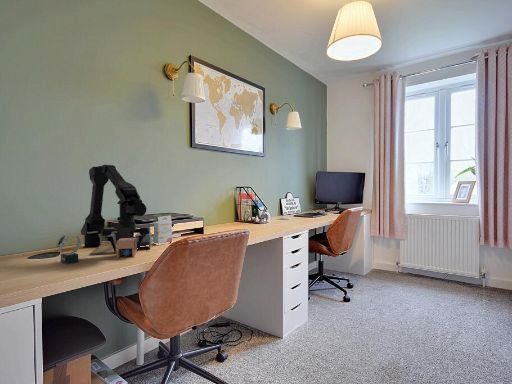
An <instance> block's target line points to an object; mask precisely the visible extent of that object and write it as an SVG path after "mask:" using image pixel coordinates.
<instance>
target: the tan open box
mask: <svg viewBox="0 0 512 384" xmlns="http://www.w3.org/2000/svg"><path fill="white" fill-rule="evenodd" d="M116 247H117V254H116V258H117V259H119V258H120V257H121V256H122V255H121V254H123V250H124V249H127V248H129V249H130V250H131V254H130V255H132V258H135V256H136V255H137V250H136V238H135V237H128V238H126V237H125V238H124V237H123V238H119V239H118V240H116ZM135 254H136V255H135Z"/></svg>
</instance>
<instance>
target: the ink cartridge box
mask: <svg viewBox="0 0 512 384" xmlns="http://www.w3.org/2000/svg"><path fill="white" fill-rule="evenodd" d="M153 224H154V234H153V233H152V243H153V242H154V243H158V244H159V243H166V242H172V243H173V237H172V236H173V229H172V228H173V226H172V225H173V223H172V215H164V216H158V217H157V221H152V225H153Z"/></svg>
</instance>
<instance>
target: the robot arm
mask: <svg viewBox="0 0 512 384" xmlns="http://www.w3.org/2000/svg"><path fill="white" fill-rule="evenodd" d="M88 175H89V180H90V182H91V183H92V189H91V200H90V209H89V214H88V215H87V216H86V218H85V220H84V224H83V226H82V227H81V228H80V235H82V236H84V237H83V238H84V241H83V242H84V243H83V244H84V246H83V247H82V248H83V249H86V248H87V249H89V248H92V249H93V248H100V247H101V246H102V237H104V238H105V239H108V240H109V242H110V244H111V247H113V249H114V252H116V247H117V238H116V237H117V236H116V235H119V236H121V235H127V236H128V235H130V234H137V233H140V235H139V240H138V249H137V251H138V252H139V251H140V248H141V247H140V246H141V243H142V240H143V238H144V237H145V236H147V235H148V234H150V233H151V227H150V226H140V227H139V228H137V224H136V221H135V217H142V216H144V215H145V214H147V210H148V209H147V206H146V205H145V203H144V202H143V200H142V199H141V196H140V194H139V192H138V190H137V188H136V186H135V185H133V184H132V183H131V182H128V181H126V180H125V178H124V177H123V176H122V175H121V174H120V173H119V171H118V169H117V168H116V166H115V165H113V164H103V165H99V166H92V167H91V168H89V170H88ZM109 181H110V183H111V184H112V186H113V187H114V188H115V191H114V192H115V195H116V197H117V198H118V199H119V200H118V201H117V204H118V205H119V221H118V224H117V225H116V228H115V227H106V225H105V223H106V220H105V218H104V217H103V215H102V211H103V203H104V190H105V186H106V185H107V183H108V182H109Z"/></svg>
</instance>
